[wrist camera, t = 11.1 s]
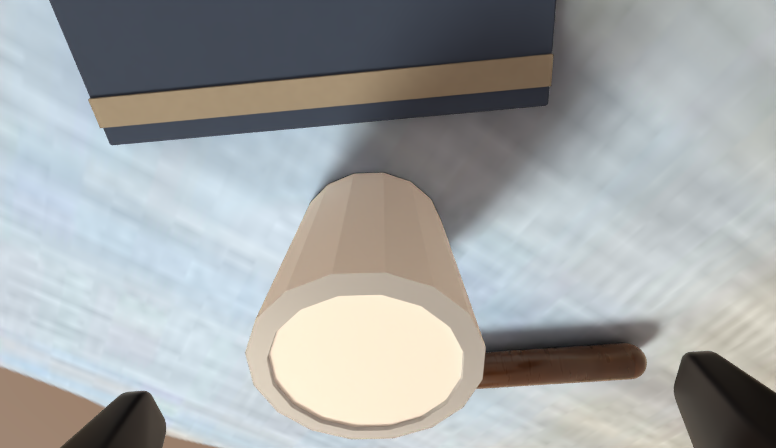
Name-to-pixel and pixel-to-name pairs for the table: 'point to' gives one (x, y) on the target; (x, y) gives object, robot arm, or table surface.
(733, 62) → the table surface
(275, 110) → the notebook
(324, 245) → the white tumbler
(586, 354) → the spoon
